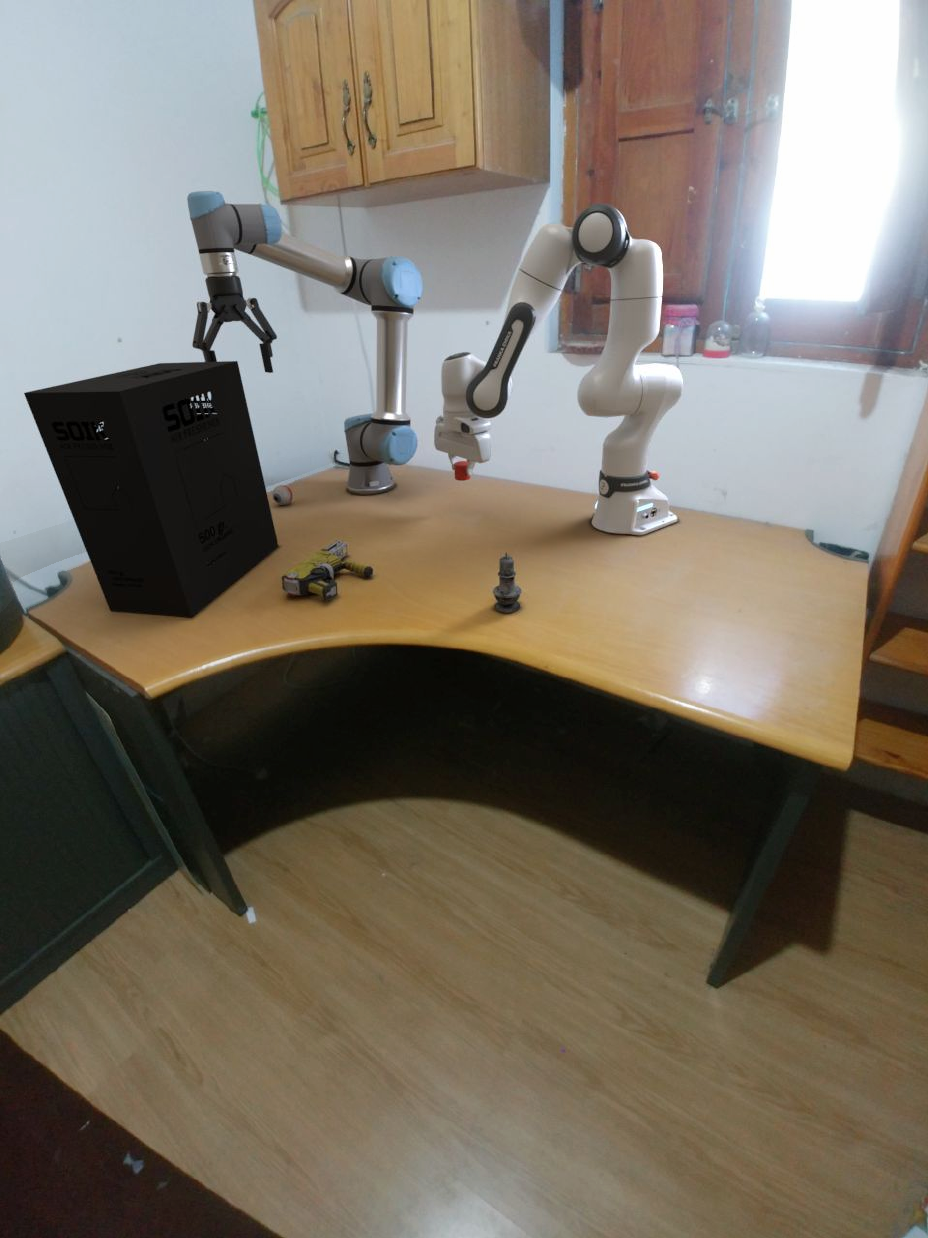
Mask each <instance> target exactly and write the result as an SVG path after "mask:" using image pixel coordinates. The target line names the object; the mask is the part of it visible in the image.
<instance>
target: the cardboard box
mask: <svg viewBox="0 0 928 1238" xmlns="http://www.w3.org/2000/svg"><path fill="white" fill-rule="evenodd" d="M209 393H210V397H209V395H208V394H209ZM23 394H24V397H25V399H26V402H27V405H28V407H29V410H30V412H31V414H32V418H33V420H34V423H35V425H36V427H37V430H38V431H39V432H38V433H39V435H40V437H41V440H42V442H43V445H44V447H45V450H46V452H47V455H48V457H49V460H50V463H51V465H52V467H53V470H54V473H55V475H56V478H57V480H58V483H59V486H60V488H61V490H62V493H63V495H64V498H65V501H66V503H67V505H68V509H69V510H70V513H71V516H72V518H73V520H74V523H75V525H76V528H77V532H78V533H79V536H80V538H81V541H82V544H83V546H84V548H85V551H86V554H87V555H88V558H89V561H90V563H91V566H92V568H93V571H94V574H95V576H96V579H97V581H98V584H99V587H100V589H101V591H102V594H103V597H104V598H105V601H106V603H107V607H108V609H109V611H110V612H119V613H120V612H122V613H133V614H146V615H157V616H160V615H161V616H170V617H171V616H172V617H183V618H193V617H194V616H195V615H196V614H197V613H199V612H200V611H202V610H203V609H204V608H205V607H206V606H208V605H209V604H210V603H211V602H213V600H214V599H216V598H217V597H218V596H219V595H221V594H222V593H223V592H225V591H226V590H227V589H228V588H230V586H232V585H233V584H234V583H235V582H237V581H238V580H239V579H240V578H242V577H243V576H244V575H246V573H248V572H249V571H250V570H252V568H254V567H256V565H258V564H259V563H260V562H262V560H264V559H265V558H266V557H267V556H268V555H270V554H271V553H273V551H275V550H276V549H277V548H279V542H278V537H277V533H276V529H275V524H274V520H273V515H272V510H271V505H270V502H269V497H268V493H267V487H266V483H265V479H264V474H263V471H262V466H261V461H260V457H259V452H258V447H257V444H256V439H255V434H254V429H253V425H252V421H251V417H250V416H251V415H250V411H249V408H248V403H247V398H246V394H245V388H244V385H243V379H242V376H241V371H240V367H239V361H238V360H227V361H226V360H225V361H224V360H223V361H217V362H205V361H189V362H188V361H187V362H159V363H155V364H149V365H145V366H140V367H136V368H131V369H126V370H123V371H117V372H114V373H113V372H112V373H109V374H104V375H100V376H95V377H90V378H86V379H81V380H77V381H72V382H68V383H62V384H58V385H54V386H53V385H52V386H49V387H44V388H40V389H35V390H32V391H31V390H30V391H26V392H23ZM197 397H198V398H197ZM192 398H193V399H192ZM202 398H203V399H204V400H202Z"/></svg>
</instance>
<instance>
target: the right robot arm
mask: <svg viewBox="0 0 928 1238" xmlns="http://www.w3.org/2000/svg"><path fill="white" fill-rule="evenodd" d="M579 265H585V266H591V267H601V268H606V269H607V270H608V272H609V275H610V305H609V319H608V329H607V336H606V341H605V345H604V347H603V349H602V352H601V354H600V356H599V358H598V359H597V361H596V363H595V364H594V366H592V367H591V369H590V370H589V371H587V373H585V374H584V376H583V377H582V378H581V380H580V381H579V385H578V387H577V392H576V397H577V398H576V399H577V402H578V406H579V408H580V410H581V411H582V412H583V414H584V415H586V416H588V417H595V418H607V419H608V418H615V417H623V419H622V420H621V423H620V424H619V425H618V426H617V427H616V428H615V429H614V430H612V431H611V432H610V433H608V434H607V436H605V438H604V439H603V443H602V453H601V468H600V470H599V474H598V492H599V493H598V498H597V501H596V503H595V505H594V509H595V511H594V514H593V517H592V520H591V525H592V526H593V527H594V528H595V529H597V530H599V531H601V532H605V533H611V534H623V535H625V534H626V535H632V536H633V535H634V536H645V535H646V534H650V533H652V532H654V531H657V530H660V529H662V528H665V527H668V526H670V525H672V524H675V523H677V522H678V516H677V515H676V514H675V513H674V512H672V511H670V503H669V502H670V501H669V498H668V497H667V496H666V495H665V494H664V493H663V492H661V491H660V490H659V489H658V488H656V487H655V486H654V485H652V483H651V480H653V481H658V479H659V478H660V473H659V472H657V471H654V470H651V471H649V470H648V469H647V466H648V460H649V452H650V446H651V442H652V438H653V436H654V433H655V432H656V429H657V428H658V425H659V424H660V423H661V420H662V419H663V418H664V416H665V415H666V414H667V413H668V412H669V411H670V410H671V409H672V408H674V406H675V405H677V403H678V402H679V400H680V399H681V397H682V394H683V391H684V380H683V375H682V374H681V371H680V370H679V368H678V367H676V366H675V365H670V364H664V363H657V362H656V363H655V362H654V363H646V364H645V363H644V364H636V363H637V359H638V357H639V355H640V354H641V352H642V351H643V350H644V349H645V348H647V347H648V346H649V345H651V344H652V343H653V342H654V341H655V340H656V339H657V337H658V335H659V333H660V325H661V315H662V303H663V302H662V301H663V286H664V271H663V258H662V250H661V248H660V246H659V245H658V244H657V243H656V242H654V241H652V240H650V239H645V238H644V239H643V238H633V237H632V236H631V234H630V232H629V229H628V226H627V222H626V219H625V218H624V216H623V214H622V212H620V211H619V210H618V209H617V208H616V207H615V206H612V205H611V204H609V203H605V202H597V203H593V204H590V205H588V206H586V208H584V209H583V210H582V211H581V212H580V213H579V215H577V217H576V219H575V220H574V223H573V225H572V227H568V226H566V225H564V224H562V223H558V222H557V223H556V222H550V223H546V224H544V225H543V226H542V227H540V228H539V230H538V231H537V233H536V235H535V236H534V238H533V239H532V241H531V243H530V244H529V247H528V248H527V250H526V252H525V253H524V256H523V258H522V261H521V263H520V265H519V268H517V269H518V270H517V272H516V275H515V277H514V279H513V283H512V287H511V290H510V293H509V298H508V302H507V306H506V312H505V315H504V319H503V323H502V326H501V330H500V332H499V334H498V337H497V339H496V341H495V343H494V346H493V348H492V350H491V353H490V355H489V356H488V358H487V359H488V360H487V361H486V362H485V361H484V360H482V359H480V358H478V357H477V356H476V355H474V354H473V353H472V352H468V351H464V352H458V353H454V354H451V355H449V356H447V357H446V358H445V359H444V360H443V362H442V364H441V370H440V386H441V387H440V389H441V394H442V398H443V404H442V415H439V416H437V418H436V419H435V425H434V431H433V432H434V434H433V445H434V448H435V450H436V451H439V452H441V453H446V454H447V457H448V460H449V461H450V463H451V470H452V471H454V463H455V462H458V461H459V460H458V458H461V459H465V460H466V461H467V463H468V466H467V468H465V474H467V475H470V476H472V475H473V474H474V468H475V465H476V463H478V464H483V463H487V462H489V461H490V460H491V458H492V437H491V434H490V432H489V431H490V430H491V427H492V426H491V425H492V424H491V422H490V421H489V419H493V418H496V417H498V416H499V415H500V414H502V413H503V412H504V410H505V408H506V406H507V403H508V401H509V399H510V397H511V395H512V393H513V389H514V380H513V377H512V375H513V371H514V370H515V367H516V365H517V363H518V361H519V358H520V357H521V354H522V352H523V350H524V348H525V347H526V344H527V342H528V341H529V340H530V338H531V337H532V335H533V334H534V333H535V332H536V331H537V329H538V328H539V327H540V326H541V325H542V324H543V323H544V322H545V320H546V318H547V317H548V316H549V315H550V313H551V312H552V310H553V308H554V307H555V305H556V304H557V302H558V300H559V299H560V296H561V294H562V291H563V289H564V287H565V285H566V283H567V281H568V279H569V277H570V275H571V273H572V272H573V271H574V270H575V268H576V267H578V266H579ZM457 457H458V458H457Z"/></svg>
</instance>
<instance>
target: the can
mask: <svg viewBox="0 0 928 1238" xmlns="http://www.w3.org/2000/svg"><path fill="white" fill-rule="evenodd" d="M457 461H458V462H455V463H454V470H453V471H454V480H456V481H458V482H459V481H461V482H463V481H468V480H470V479H471V475H467V474H465V468H467V466H468V463H467V460H457Z"/></svg>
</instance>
